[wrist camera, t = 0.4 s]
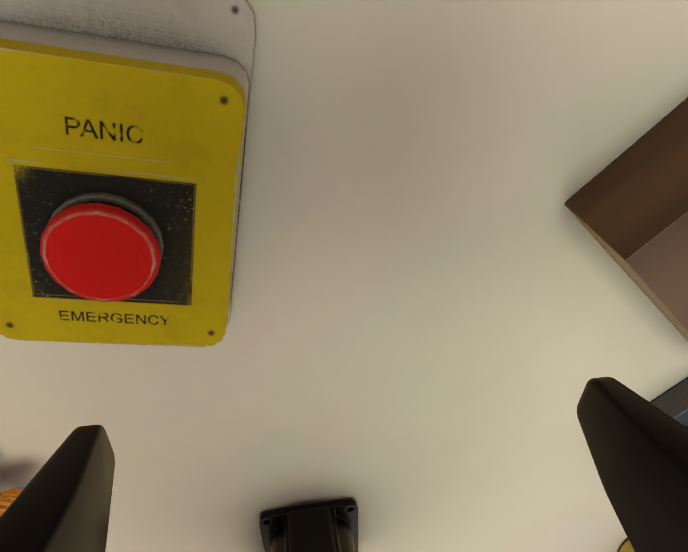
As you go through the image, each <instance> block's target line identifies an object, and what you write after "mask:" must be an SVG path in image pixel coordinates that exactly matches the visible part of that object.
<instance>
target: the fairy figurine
mask: <svg viewBox="0 0 688 552" xmlns="http://www.w3.org/2000/svg"><path fill="white" fill-rule="evenodd" d="M21 488H22V487H21ZM3 491H4V490H3ZM22 491H23V490H20V489H16V488H12V489H9V490H7V491H4V492H0V516H1V515H2V514H3V513H4V512H5V511H6V509H7V508H8V507H9V506H10V505H11V503H12V502H13V501H14V500H15V499H16V498H17V496H18V495H19V494H20V493H21V492H22Z"/></svg>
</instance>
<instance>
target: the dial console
mask: <svg viewBox="0 0 688 552" xmlns="http://www.w3.org/2000/svg"><path fill="white" fill-rule="evenodd" d="M565 206H566V207H567V208H568V209H569V210H570V211H571V212H572V213H573V214H574V215H575V217H576V218H577V219H578V220H579V221H580V222H581V223H582V224H583V225H584V227H585V228H586V229H587V230H588V231H589V232H590V233H591V234H592V235H593V237H594V238H595V239H596V240H597V241H598V242H599V243H600V244H601V245H602V247H603V248H604V249H605V250H606V251H607V252H608V253H609V254H610V255H611V257H612V258H613V259H614V260H615V261H616V262H617V263H618V264H619V265H620V266H621V268H622V269H623V270H624V271H625V272H626V273H627V274H628V275H629V276H630V278H631V279H632V280H633V281H634V282H635V283H636V284H637V285H638V286H639V288H640V289H641V290H642V291H643V292H644V293H645V294H646V295H647V296H648V298H649V299H650V300H651V301H652V302H653V303H654V304H655V305H656V306H657V307H658V309H659V310H660V311H661V312H662V313H663V314H664V315H665V316H666V317H667V319H668V320H669V321H670V322H671V323H672V324H673V325H674V326H675V327H676V329H677V330H678V331H679V332H680V333H681V334H682V335H683V336H684V337H685V339H686V340H687V341H688V99H687V100H686V101H684V102H683V103H682V104H681V105H680V106H678V107H677V108H676V109H675V110H674V111H673V112H671V113H670V114H669V115H668V116H667V117H666V118H664V119H663V120H662V121H661V122H660V123H659V124H657V125H656V126H655V127H654V128H653V129H652V130H650V131H649V132H648V133H647V134H646V135H645V136H643V137H642V138H641V139H640V140H639V141H638V142H636V143H635V144H634V145H633V146H632V147H631V148H629V149H628V150H627V151H626V152H625V153H624V154H622V155H621V156H620V157H619V158H618V159H617V160H615V161H614V162H613V163H612V164H611V165H610V166H608V167H607V168H606V169H605V170H604V171H603V172H601V173H600V174H599V175H598V176H597V177H596V178H594V179H593V180H592V181H591V182H590V183H589V184H587V185H586V186H585V187H584V188H583V189H581V190H580V191H579V192H578V193H577V194H576V195H574V196H573V197H572V198H571V199H570V200H569V201H567V202H566V203H565Z"/></svg>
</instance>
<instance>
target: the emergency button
mask: <svg viewBox="0 0 688 552" xmlns="http://www.w3.org/2000/svg"><path fill="white" fill-rule="evenodd" d="M254 41H255V21H254V13H253V9H252V8H251V6H250V5H249V3H248V1H247V0H0V334H2V335H3V336H5V337H7V338H12V339H17V340H32V341H58V342H84V343H111V344H137V345H163V346H190V347H205V346H213V345H215V344H216V343H218V342H220V341H221V340H222V338H223V336H224V334H225V331H226V328H227V325H228V323H229V320H230V310H231V299H232V288H233V277H234V265H235V254H236V243H237V232H238V221H239V209H240V198H241V187H242V176H243V164H244V153H245V142H246V131H247V119H248V108H249V97H250V86H251V74H252V63H253V52H254Z"/></svg>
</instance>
